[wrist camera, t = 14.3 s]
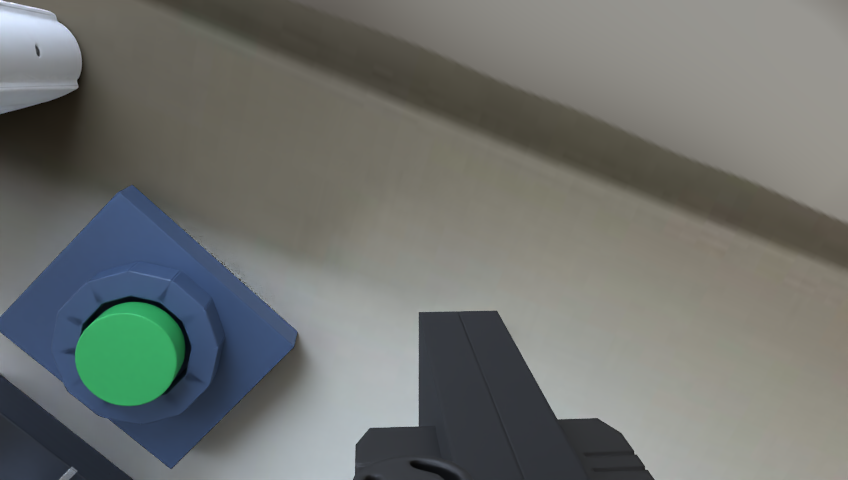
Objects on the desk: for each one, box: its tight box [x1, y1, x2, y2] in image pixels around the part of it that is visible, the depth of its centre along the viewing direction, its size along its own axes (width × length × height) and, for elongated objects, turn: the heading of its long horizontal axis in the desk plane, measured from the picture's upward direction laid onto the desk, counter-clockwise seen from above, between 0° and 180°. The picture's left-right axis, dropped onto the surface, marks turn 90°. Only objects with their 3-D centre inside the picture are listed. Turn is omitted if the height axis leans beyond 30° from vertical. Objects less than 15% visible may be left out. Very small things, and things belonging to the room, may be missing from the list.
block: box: [0, 185, 298, 469], centre depth 37 cm, size 11×9×4 cm
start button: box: [75, 302, 185, 406], centre depth 35 cm, size 4×4×2 cm
